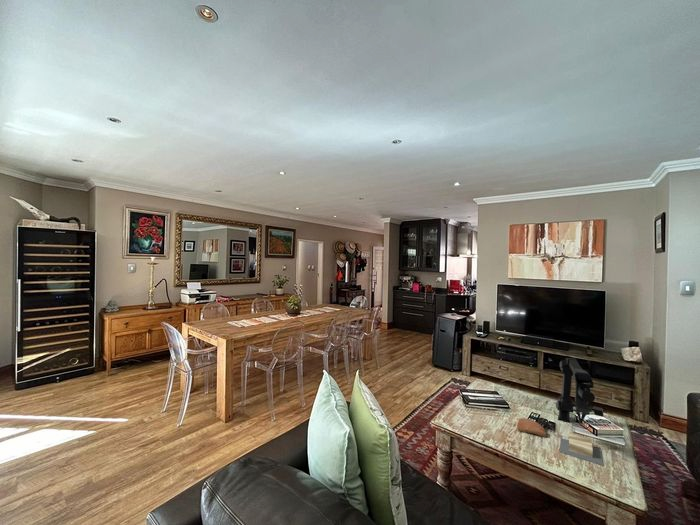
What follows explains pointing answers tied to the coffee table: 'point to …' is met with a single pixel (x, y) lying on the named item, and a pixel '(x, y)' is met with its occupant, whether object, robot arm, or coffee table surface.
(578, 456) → the mat
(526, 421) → the ceramic shard
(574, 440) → the oak slab
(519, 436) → the coffee table surface
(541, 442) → the coffee table surface
